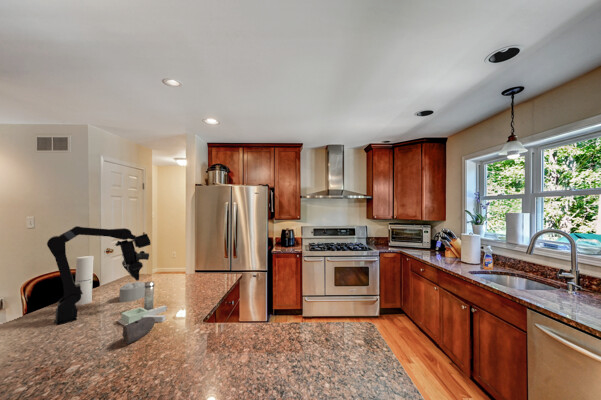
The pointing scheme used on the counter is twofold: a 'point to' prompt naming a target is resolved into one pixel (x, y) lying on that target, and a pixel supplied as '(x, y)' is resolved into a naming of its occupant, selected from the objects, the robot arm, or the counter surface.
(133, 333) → the perforated stone tool
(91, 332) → the counter surface
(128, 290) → the lumpy-topped squat cylinder
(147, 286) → the shiny grey metal cylinder
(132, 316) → the shaft rig
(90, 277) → the cylindrical container
